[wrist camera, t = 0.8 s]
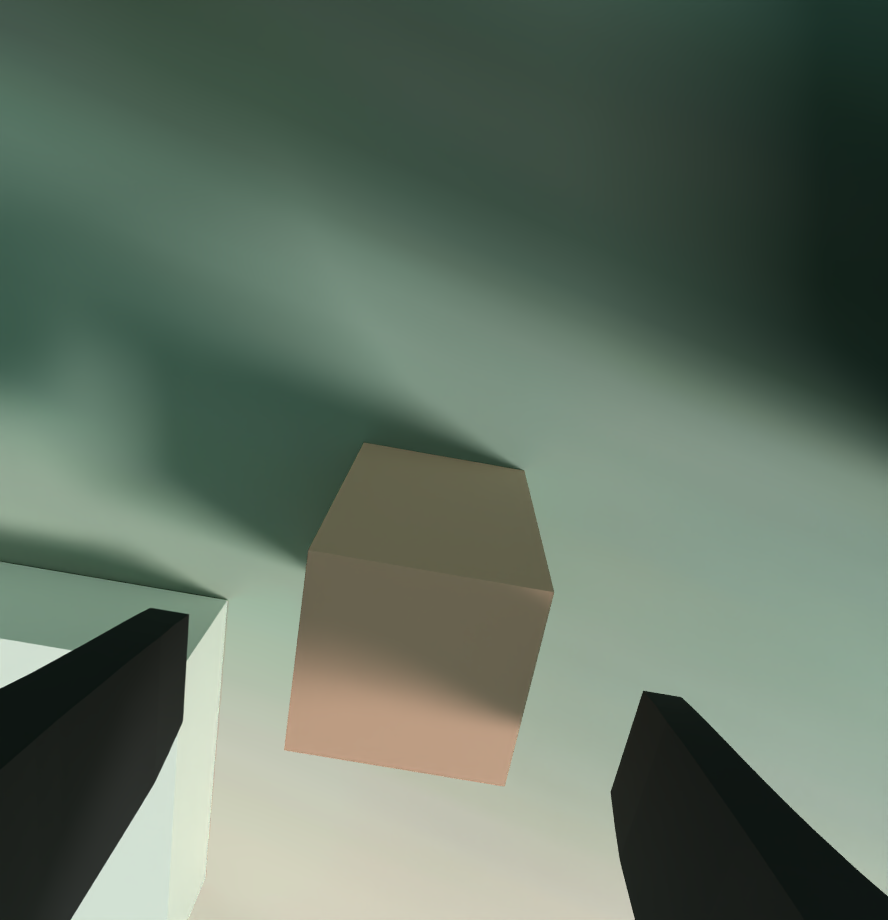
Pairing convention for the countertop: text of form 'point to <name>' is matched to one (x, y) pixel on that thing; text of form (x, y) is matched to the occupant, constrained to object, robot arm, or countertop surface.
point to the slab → (191, 756)
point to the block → (421, 617)
